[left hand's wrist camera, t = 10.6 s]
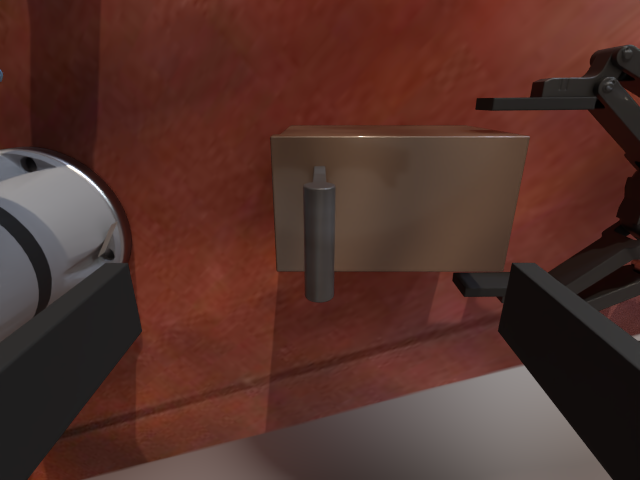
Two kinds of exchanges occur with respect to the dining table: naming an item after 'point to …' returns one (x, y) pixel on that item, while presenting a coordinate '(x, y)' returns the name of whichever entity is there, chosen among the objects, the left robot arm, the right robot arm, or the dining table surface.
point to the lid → (393, 203)
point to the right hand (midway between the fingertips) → (469, 202)
